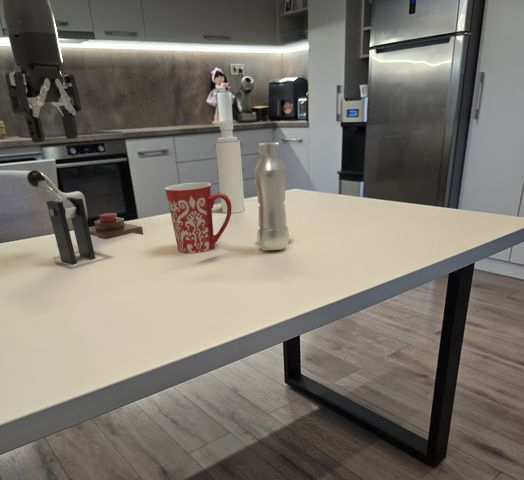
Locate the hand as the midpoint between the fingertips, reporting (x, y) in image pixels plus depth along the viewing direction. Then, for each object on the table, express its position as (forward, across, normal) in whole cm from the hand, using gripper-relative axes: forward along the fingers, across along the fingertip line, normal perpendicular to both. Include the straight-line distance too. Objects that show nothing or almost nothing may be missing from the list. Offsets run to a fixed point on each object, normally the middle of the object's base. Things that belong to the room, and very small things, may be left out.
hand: (56, 140), depth 86 cm
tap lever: (+11, -1, -5) cm, 12 cm away
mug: (+23, -10, +22) cm, 33 cm away
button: (+19, -22, -9) cm, 31 cm away
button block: (+23, -22, -9) cm, 33 cm away
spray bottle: (+23, -54, +10) cm, 60 cm away
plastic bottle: (+22, -16, +35) cm, 45 cm away
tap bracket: (+23, +1, 0) cm, 23 cm away
